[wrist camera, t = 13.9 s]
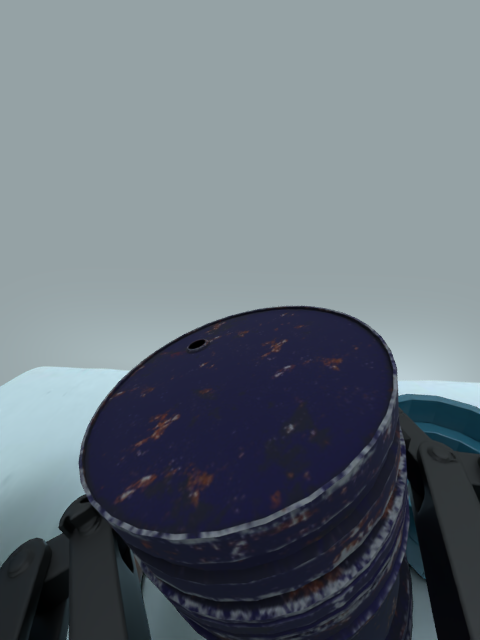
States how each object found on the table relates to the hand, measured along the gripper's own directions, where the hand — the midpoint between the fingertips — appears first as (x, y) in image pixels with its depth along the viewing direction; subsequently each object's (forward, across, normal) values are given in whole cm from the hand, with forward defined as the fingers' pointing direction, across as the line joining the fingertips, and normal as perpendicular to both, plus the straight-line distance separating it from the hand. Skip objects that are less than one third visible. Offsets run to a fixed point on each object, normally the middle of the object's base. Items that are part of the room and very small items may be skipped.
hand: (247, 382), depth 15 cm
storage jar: (-6, +2, -10) cm, 11 cm away
